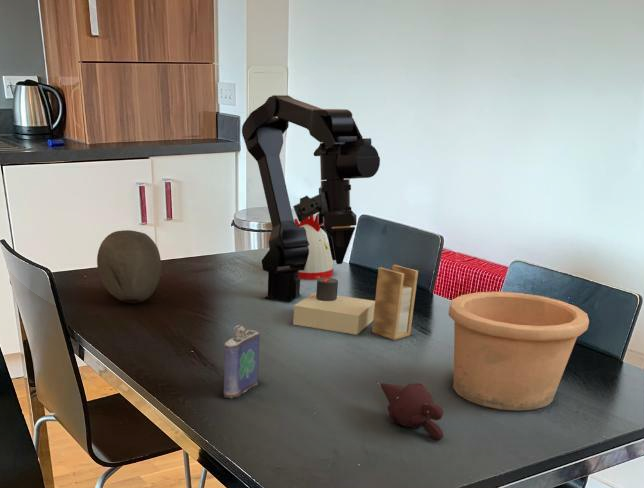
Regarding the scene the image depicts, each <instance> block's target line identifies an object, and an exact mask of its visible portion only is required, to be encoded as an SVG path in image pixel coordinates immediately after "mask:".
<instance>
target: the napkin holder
mask: <svg viewBox="0 0 644 488" xmlns="http://www.w3.org/2000/svg"><path fill="white" fill-rule="evenodd" d="M418 276H419V270H417V269H413V268H409V267H405V266H402V265H398V264H392V266H391V269H388V268H385V267H378V270H377V277H376V278H377V280H376V290H375V297H374V298H375V299H374V301H375V308H374V318H373V321H372V330H371V333H372V334H374V335H375V334H376V335H377V336H378V335H379V336H381V337H385V338H387V339H391V340H393V341H395V340H399V339H403V338H406V337H409V336H411V331H412V325H413V316H414V308H415V301H416V293H417V286H418V285H417V283H418V278H419V277H418Z"/></svg>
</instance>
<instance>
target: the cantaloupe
mask: <svg viewBox="0 0 644 488" xmlns="http://www.w3.org/2000/svg"><path fill="white" fill-rule="evenodd" d="M96 267H97V273H98V276H99V278H100V281H101V282H102V284H103V287H104V288H105V289H106V290H107V291H108V293H109V294H110V295H112V296H113V297H114V298H116V299H117V300H118V301H121V302H123V303H126V304H132V305H133V304H134V305H135V304H140V303H143V302H145V301H146V300H147V299H149V298H150V297H151V296H152V295H153V294H154V292H155V290H156V289H157V287H158V286H159V282H160V279H161V275H162V258H161V255H160V251H159V248H158V246H157V244H156V243H155V241H154V239H152V238H151V236H149V235H148V234H146V233H144V232H142V231H141V232H140V231H137V230H129V229H127V230H125V229H124V230H123V229H122V230H116V231H113V232H111V233H109V234H108V235H107V236H106V237H105V238H104V239H103V240H102V242H101V243H100V245H99V248H98V251H97V255H96Z"/></svg>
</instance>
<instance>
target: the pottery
mask: <svg viewBox="0 0 644 488" xmlns="http://www.w3.org/2000/svg"><path fill="white" fill-rule="evenodd" d="M448 308H449V309H448V316H449V317H450V318H451V319H452V321H453V322H454V327H453V328H454V331H453V332H454V333H453V334H454V337H453V338H454V339H453V385H452V388H453V390H454V391H455V392H456V394H457V395H458V396H459V397H461V398H463V399H465V400H466V401H467V402H469V403H472V404H475V405H478V406H481V407H484V408H490V409H494V410H499V411H511V412H525V411H536V410H539V409H542V408H546V407H547V406H549V405H550V404H551V403H552V402H554V398H555V396H556V393H557V390H558V387H559V385H560V382H561V380H562V377H563V375H564V372H565V370H566V368H567V364H568V362H569V360H570V357H571V355H572V352H573V349H574V346H575V344H576V341H577V339H578V337H580V336H581V335H583V334H584V333H585V332H586V331H587V330H588V329H589V325H590V319H589V316H588V313H586V312H585V311H584V310H582V309H581V308H579V307H578V306H576V305H573V304H570V303H568V302H565V301H562V300H561V299H556V298H552V297H551V298H550V297H547V296H542V295H537V294H530V293H522V292H513V291H478V292H477V291H476V292H472V293H466V294H461V295H459V296H457V297H455V298H453V299H451V301H450V304H449V306H448Z"/></svg>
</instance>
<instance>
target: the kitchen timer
mask: <svg viewBox="0 0 644 488" xmlns="http://www.w3.org/2000/svg"><path fill="white" fill-rule="evenodd" d="M293 219H294V222H295V223H296V225H297V226H298V227H304V228H305V230H306V235H307V240H308V242H309V246H308V247H309V255H308V259H307V262H306V266H305V269H304V270H299V274H298V277H299V278H300V280H317V279H319V278H331V277H332V276H333V274H334V262H333V261H334V260H332V256H331V251H330V247H329V242H328V239H327V237H326V236H325V234H323V232H322V230H321V228H320V227H319V225H323V223H322V224H318V213H316V214H315V218H314V215H312V216H310V217H307V219H306V220H303V221H301V222H299V220H298V218H293Z"/></svg>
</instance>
